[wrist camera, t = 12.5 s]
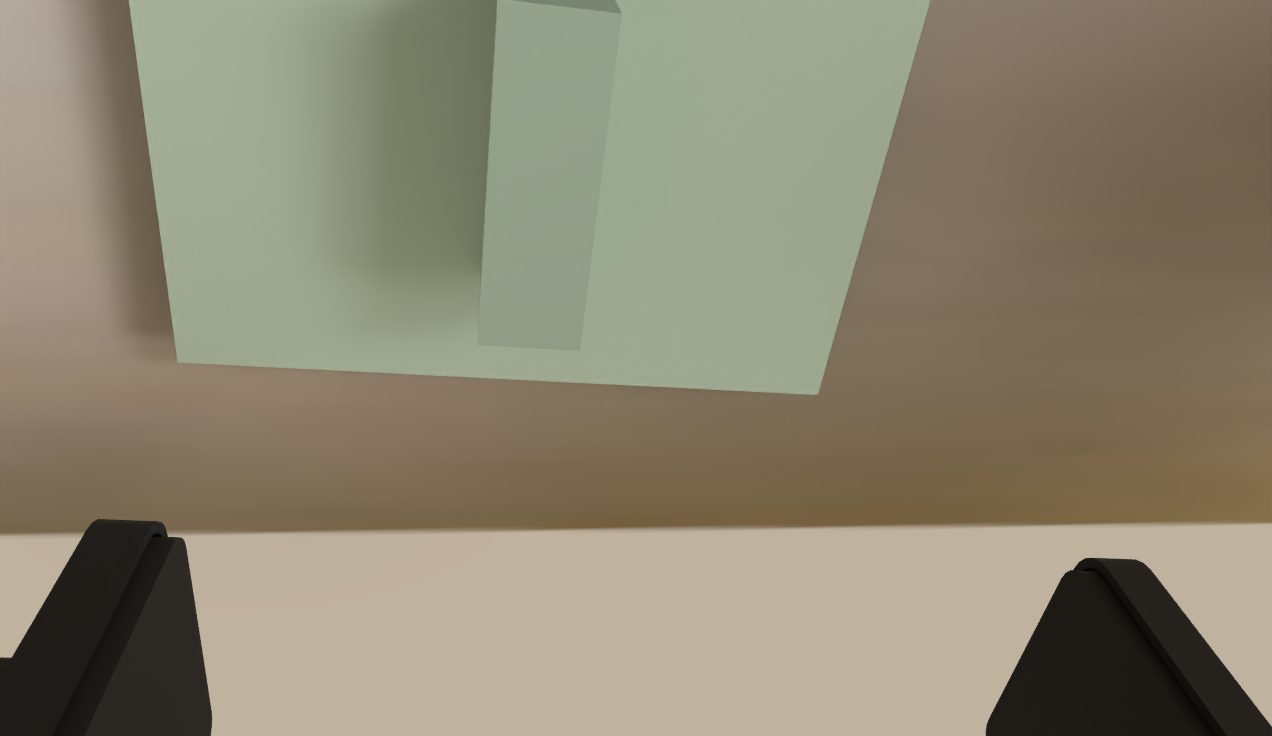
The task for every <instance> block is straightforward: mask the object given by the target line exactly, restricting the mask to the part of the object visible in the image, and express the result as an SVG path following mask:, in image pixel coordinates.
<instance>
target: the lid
mask: <svg viewBox="0 0 1272 736" xmlns="http://www.w3.org/2000/svg"><path fill="white" fill-rule="evenodd" d="M929 4H930V0H129V7H130V15H131V22H132V30H133V37H134V45H135V52H136V59H137V67H138V74H139V82H140V89H141V96H142V104H143V111H144V119H145V126H146V133H147V141H148V148H149V156H150V163H151V170H152V178H153V185H154V193H155V200H156V207H157V215H158V222H159V230H160V237H161V244H162V252H163V259H164V267H165V274H166V281H167V289H168V296H169V304H170V311H171V318H172V326H173V333H174V341H175V348H176V355H177V363H196V364H216V365H235V366H255V367H275V368H295V369H315V370H335V371H354V372H374V373H394V374H414V375H434V376H453V377H473V378H493V379H513V380H533V381H552V382H572V383H592V384H612V385H632V386H652V387H671V388H691V389H711V390H731V391H751V392H770V393H790V394H810V395H818V392H819V389H820V385H821V382H822V378H823V375H824V371H825V368H826V364H827V361H828V357H829V354H830V350H831V347H832V343H833V340H834V336H835V333H836V329H837V326H838V322H839V319H840V315H841V312H842V308H843V305H844V301H845V298H846V294H847V291H848V287H849V284H850V280H851V277H852V273H853V270H854V266H855V263H856V259H857V256H858V252H859V249H860V245H861V242H862V238H863V235H864V231H865V228H866V224H867V221H868V217H869V214H870V210H871V207H872V203H873V200H874V196H875V193H876V189H877V186H878V182H879V179H880V175H881V172H882V168H883V165H884V161H885V158H886V154H887V151H888V147H889V144H890V140H891V137H892V133H893V130H894V126H895V123H896V119H897V116H898V112H899V109H900V105H901V102H902V98H903V95H904V91H905V88H906V84H907V81H908V77H909V74H910V70H911V67H912V63H913V60H914V56H915V53H916V49H917V46H918V42H919V39H920V35H921V32H922V28H923V25H924V21H925V18H926V14H927V11H928V7H929Z"/></svg>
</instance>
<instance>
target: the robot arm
mask: <svg viewBox="0 0 1272 736" xmlns="http://www.w3.org/2000/svg"><path fill="white" fill-rule="evenodd" d="M211 728H212V711H211V705H210V698H209V692H208V685H207V679H206V673H205V666H204V659H203V653H202V646H201V640H200V634H199V627H198V620H197V614H196V607H195V601H194V594H193V588H192V581H191V575H190V569H189V562H188V556H187V550H186V545H185V541H184V540H183V538H179V537H168V535H167V532H166V528H165V526H164V525H163V523H162V522H157V521H131V520H106V519H98V520H96V521H94V522H93V523H92V524H91V525H90V526H89V528H88V529H87V530H86V532H85V533H84V535H83V537H82V539H81V541H80V542H79V544H78V545H77V547H76V549H75V551H74V552H73V554H72V556H71V557H70V559H69V561H68V563H67V564H66V566H65V568H64V569H63V571H62V573H61V575H60V576H59V578H58V580H57V581H56V583H55V585H54V586H53V588H52V590H51V592H50V593H49V595H48V597H47V598H46V600H45V602H44V604H43V605H42V607H41V609H40V611H39V612H38V614H37V615H36V617H35V619H34V621H33V622H32V624H31V626H30V627H29V629H28V631H27V633H26V634H25V636H24V638H23V640H22V641H21V643H20V645H19V647H18V648H17V650H16V652H15V653H14V655H13V657H12V658H0V736H211ZM986 736H1272V727H1271V725H1270V724H1269V723H1268V721H1267V720H1266V719H1265V718H1264V716H1263V715H1262V714H1261V713H1260V711H1259V710H1258V708H1257V707H1256V706H1255V705H1254V704H1253V702H1252V701H1251V699H1250V698H1249V697H1248V695H1247V694H1246V693H1245V692H1244V690H1243V689H1242V688H1241V686H1240V685H1239V684H1238V682H1237V681H1236V680H1235V679H1234V677H1233V676H1232V675H1231V673H1230V672H1229V671H1228V669H1227V668H1226V667H1225V666H1224V664H1223V663H1222V662H1221V660H1220V659H1219V658H1218V656H1217V655H1216V654H1215V653H1214V651H1213V650H1212V649H1211V647H1210V646H1209V645H1208V644H1207V642H1206V641H1205V640H1204V638H1203V637H1202V636H1201V634H1200V633H1199V632H1198V630H1197V629H1196V628H1195V627H1194V625H1193V624H1192V623H1191V621H1190V620H1189V619H1188V617H1187V616H1186V615H1185V614H1184V612H1183V611H1182V610H1181V608H1180V607H1179V606H1178V604H1177V603H1176V602H1175V601H1174V599H1173V598H1172V597H1171V595H1170V594H1169V593H1168V592H1167V590H1166V589H1165V588H1164V586H1163V585H1162V584H1161V582H1160V581H1159V580H1158V578H1157V577H1156V576H1155V575H1154V573H1153V572H1152V571H1151V570H1150V569H1149V568H1148V567H1147V566H1146V565H1145V564H1144V563H1142V562H1140V561H1138V560H1132V559H1106V558H1085V559H1083V560H1082V561H1080V562H1079V563H1078V564H1077V565H1076V567H1075V568H1074V570H1070V571H1068V572H1067V573H1065V574H1064V576H1063V577H1062V578H1061V580H1060V582H1059V584H1058V586H1057V588H1056V590H1055V592H1054V594H1053V596H1052V598H1051V600H1050V602H1049V604H1048V606H1047V608H1046V609H1045V611H1044V613H1043V615H1042V617H1041V619H1040V621H1039V623H1038V625H1037V627H1036V629H1035V631H1034V633H1033V635H1032V637H1031V639H1030V640H1029V642H1028V644H1027V646H1026V648H1025V650H1024V652H1023V654H1022V656H1021V658H1020V660H1019V662H1018V664H1017V666H1016V668H1015V670H1014V671H1013V673H1012V675H1011V677H1010V679H1009V681H1008V683H1007V685H1006V687H1005V689H1004V691H1003V693H1002V695H1001V697H1000V699H999V701H998V702H997V704H996V706H995V708H994V710H993V712H992V714H991V716H990V718H989V720H988V723H987V727H986Z"/></svg>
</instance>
